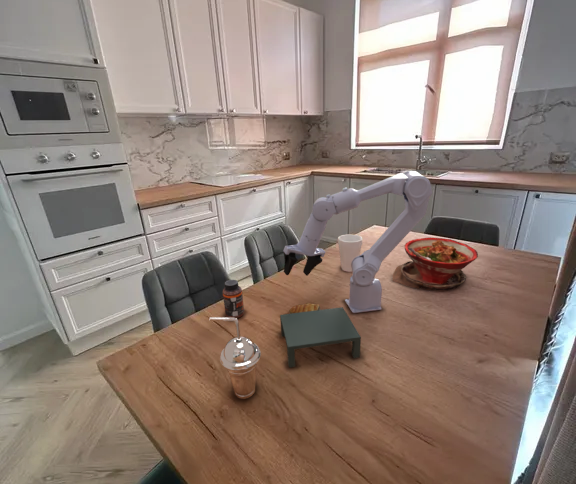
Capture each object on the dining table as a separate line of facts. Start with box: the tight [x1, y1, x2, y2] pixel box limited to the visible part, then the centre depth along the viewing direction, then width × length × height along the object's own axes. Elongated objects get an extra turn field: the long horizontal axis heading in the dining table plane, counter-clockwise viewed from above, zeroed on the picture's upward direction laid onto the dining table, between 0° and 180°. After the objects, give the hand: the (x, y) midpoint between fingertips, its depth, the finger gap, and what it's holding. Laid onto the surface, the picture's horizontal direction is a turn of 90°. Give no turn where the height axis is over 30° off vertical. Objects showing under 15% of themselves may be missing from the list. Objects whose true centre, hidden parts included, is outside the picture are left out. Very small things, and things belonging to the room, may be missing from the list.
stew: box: [392, 237, 479, 292], centre depth 111 cm, size 28×24×16 cm
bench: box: [279, 306, 362, 369], centre depth 82 cm, size 18×14×6 cm
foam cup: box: [337, 233, 364, 273], centre depth 124 cm, size 10×9×13 cm
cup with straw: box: [208, 316, 262, 400], centre depth 66 cm, size 8×9×20 cm
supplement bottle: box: [222, 279, 245, 319], centre depth 96 cm, size 6×6×11 cm
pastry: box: [289, 302, 321, 314], centre depth 96 cm, size 9×7×4 cm
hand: (295, 273), depth 99 cm, fingers open, 7 cm apart
